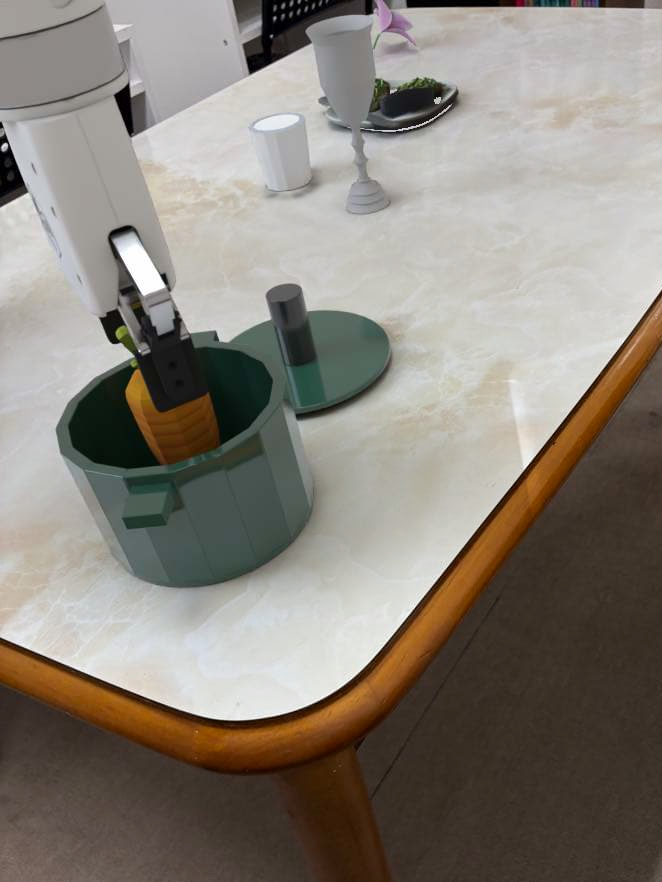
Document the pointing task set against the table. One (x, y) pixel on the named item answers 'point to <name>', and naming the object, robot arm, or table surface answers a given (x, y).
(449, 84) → the salad plate
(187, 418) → the carrot
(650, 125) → the table surface
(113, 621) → the table surface
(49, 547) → the table surface
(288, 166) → the shot glass
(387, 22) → the lily
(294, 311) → the lid
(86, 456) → the pot
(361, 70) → the chalice
